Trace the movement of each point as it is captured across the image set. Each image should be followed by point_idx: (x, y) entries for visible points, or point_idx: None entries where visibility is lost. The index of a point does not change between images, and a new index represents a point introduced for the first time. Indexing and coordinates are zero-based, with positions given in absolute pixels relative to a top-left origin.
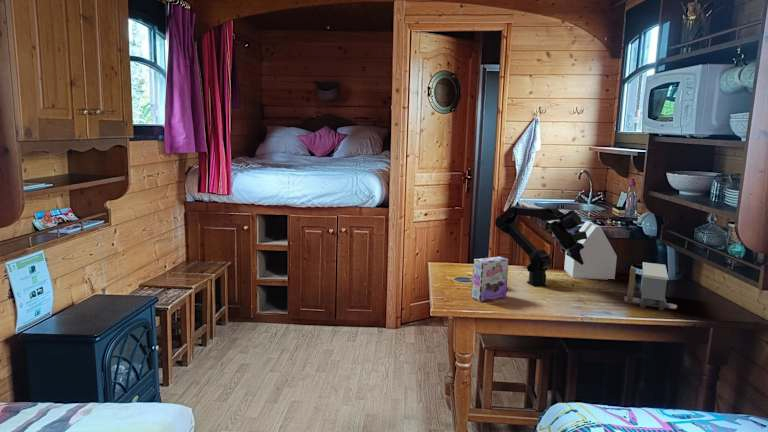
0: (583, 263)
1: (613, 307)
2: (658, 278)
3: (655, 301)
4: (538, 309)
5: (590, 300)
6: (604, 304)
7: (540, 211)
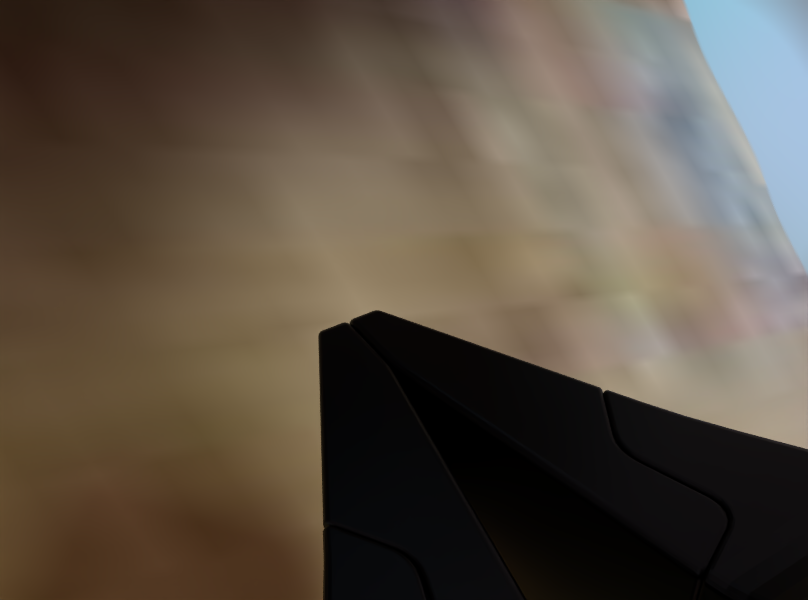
0: (380, 319)
1: (542, 57)
2: None
3: None
4: None
5: (471, 245)
6: (510, 123)
7: None
